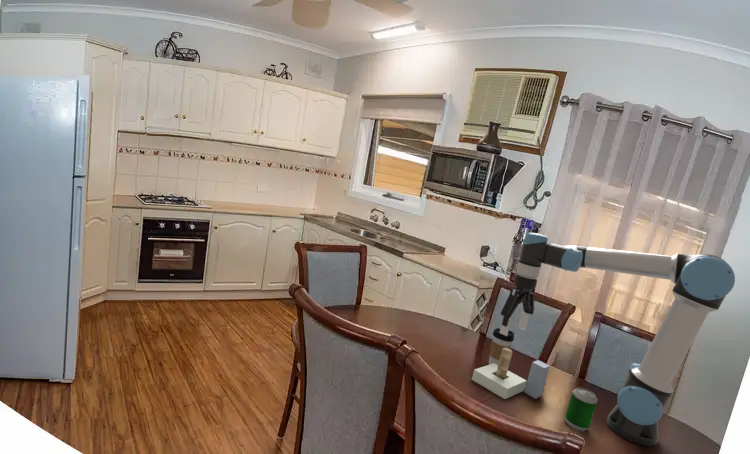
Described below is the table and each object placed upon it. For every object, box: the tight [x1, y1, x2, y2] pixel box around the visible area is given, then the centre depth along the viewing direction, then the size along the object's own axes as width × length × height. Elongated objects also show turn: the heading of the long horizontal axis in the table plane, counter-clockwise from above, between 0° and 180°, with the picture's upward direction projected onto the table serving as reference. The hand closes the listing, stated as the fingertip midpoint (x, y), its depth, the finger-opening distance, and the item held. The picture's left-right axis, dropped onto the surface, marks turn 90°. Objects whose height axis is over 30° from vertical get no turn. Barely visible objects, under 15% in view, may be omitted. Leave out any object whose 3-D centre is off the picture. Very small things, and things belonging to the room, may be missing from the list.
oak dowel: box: [495, 348, 513, 380], centre depth 160 cm, size 4×4×14 cm
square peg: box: [523, 359, 551, 400], centre depth 159 cm, size 5×5×12 cm
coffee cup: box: [488, 327, 515, 365], centre depth 177 cm, size 8×8×15 cm
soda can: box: [564, 387, 599, 432], centre depth 143 cm, size 8×8×12 cm
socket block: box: [471, 363, 528, 400], centre depth 161 cm, size 14×14×4 cm
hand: (512, 331), depth 158 cm, fingers open, 13 cm apart
